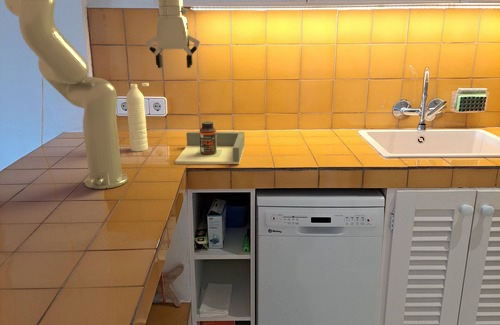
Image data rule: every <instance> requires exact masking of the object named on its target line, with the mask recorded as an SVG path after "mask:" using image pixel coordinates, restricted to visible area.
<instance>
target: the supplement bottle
mask: <svg viewBox="0 0 500 325" xmlns="http://www.w3.org/2000/svg"><path fill="white" fill-rule="evenodd" d="M199 132H200V152H201V153H202V154H204V155H211V154H215V153H216V152H217V148H216V132H217V129H216V128H215V127H214V122H213V121H202V122H201V128H200V129H199Z"/></svg>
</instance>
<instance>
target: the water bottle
mask: <svg viewBox="0 0 500 325" xmlns="http://www.w3.org/2000/svg"><path fill="white" fill-rule="evenodd" d="M141 86H142V87H149V86H150V83H149V82H142V83H141ZM138 87H139V86H138V84H137V83H130V89H129V91H128V92H127V94H126V96H125V101H126V111H127V122H128V132H129V134H128V136H129V144H130V145H129V146H130V151H132V152H139V153H140V152H144V151H147V150H149V143H148V133H147V119H146V118H147V117H146V108H145V97H144V94H143V93H142V92H141V91H140V89H139V88H138Z"/></svg>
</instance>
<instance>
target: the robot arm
mask: <svg viewBox="0 0 500 325" xmlns="http://www.w3.org/2000/svg"><path fill="white" fill-rule="evenodd" d="M183 2H184V1H183V0H158V2H157V3H158V13H159V14H158V15H159V16H158V17H157V20H156V33H155V34H156V35H155V36H153V37H152V38H150V39H149V40H146V42H145V43H146V45H147V47H148V48H149V50H150V51H151V52H152V53H153V56H155V64H156V66H157V68H158V69H160V68H161V69H162V67H163V55H162V54H161V53H162V51H163V50H184V51H185V53H186V55H185V56H186V68H187V69H190V68H191V67H192V65H193V54H195V52H196V51H197V50H198V47H199V46H200V44H201V43H200V42H201V41H200V40H199V39H196V38H195V37H193V36H191V35H190V32H189V24H188V20H187V17H186V16H184V15H185V14H188V13H189V9H188V8H185V7H184V3H183ZM4 4H5V7H6V9H7V10H8V11H9V12H10V13H11V14H12V15H15V16H17V17H18V24H19V29H20V34H21V36H22V39H23V40H24V42H25V44H26V46H28V47H29V49H30V50H31V51H32V52H33V54H35V56H37V58H38V60H37V61H38V62H37V63H38V65H37V66H38V69H39V73H40V74H41V75H42V77H43V78H44V79H45V81H47V82H48V84H50V85H51V86H52V88H54V90H56V91H57V92H58V93H59V94H60V95H61V96H62V97H63V98H64V99H65V100H66V101H68V102H69V104H72V105H73V106H75V107H78V108H81V109H83V117H82V118H83V119H82V130H83V131H82V132H83V137H84V145H85V154H86V159H87V160H86V161H87V169H88V176H87V177H86V178H85V179H84V182H83V183H84V186H85V187H87V188H89V189H93V188H94V190H95V189H96V190H105V189H106V188H107V189H111V188H116V187H119V186H122V185H125V184H126V183H127V182H128V180H129V179H128V178H129V177H128V175H127V174H126V173H123V172H122V161H121V155H120V154H121V153H120V142H119V131H118V124H117V122H118V121H117V110H118V109H117V107H118V94H117V91H116V88H115V86H114V85H113V84H112V83H111V82H110V81H108V80H107V79H106V78H105V79H104V78H101V77H95V76H88V75H89V65H88V63H87V61H86V59H85V58H84V57H83V55H81V53H80V52H79V51H77V49H76V48H75V47H74V46H73V45H72V44H71V42H69V41H68V40H67V39H66V38H65V36H64V35H63V34H62V33H61V31H60V30H59V29H58V27H57V25H56V22H55V17H54V16H55V7H56V6H55V5H56V0H4ZM155 42H156V47H157V48H155V47H154V44H153V43H155ZM191 42H192V43H193V47H192V48H190V45H191Z"/></svg>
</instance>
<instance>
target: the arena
mask: <svg viewBox="0 0 500 325" xmlns="http://www.w3.org/2000/svg"><path fill="white" fill-rule="evenodd" d="M216 148H217V152H216V153H215V154H211V155H204V154H202V153H201V152H200V131H187V132H186V146H185V148H184V149H183V150H182V151H181V153H180V154H179V155H178V157H177V158H176V159H175V161H174V163H175V165H218V164H239V165H240V163H241V161H242V157H241V156H243V154H242V153H244V150H245V132H244V131H216Z"/></svg>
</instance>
